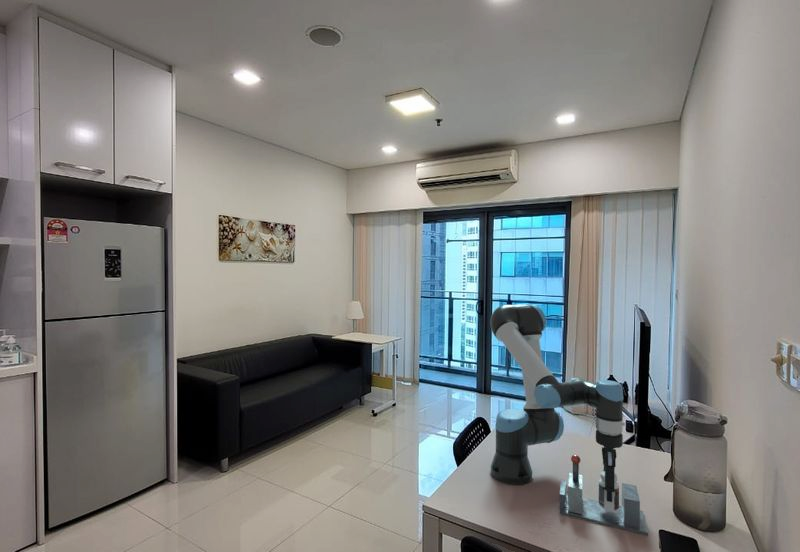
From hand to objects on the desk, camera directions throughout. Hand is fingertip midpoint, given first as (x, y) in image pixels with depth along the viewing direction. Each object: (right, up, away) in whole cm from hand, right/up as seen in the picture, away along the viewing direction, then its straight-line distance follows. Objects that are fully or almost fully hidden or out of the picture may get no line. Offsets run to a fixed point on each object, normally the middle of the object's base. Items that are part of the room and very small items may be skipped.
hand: (608, 505), depth 126 cm
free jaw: (-9, -2, +4) cm, 10 cm away
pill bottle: (0, -1, 0) cm, 1 cm away
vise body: (-2, -3, +1) cm, 4 cm away
